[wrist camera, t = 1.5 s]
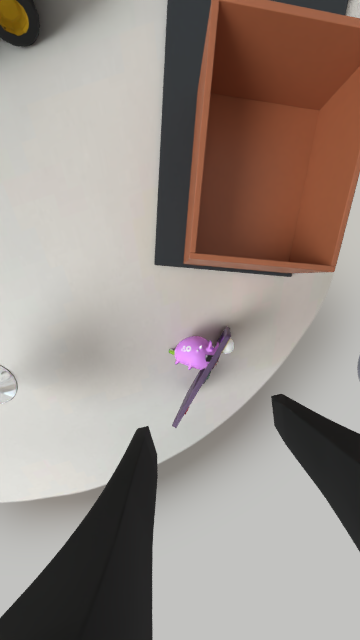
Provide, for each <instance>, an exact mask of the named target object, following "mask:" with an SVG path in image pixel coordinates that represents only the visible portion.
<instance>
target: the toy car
mask: <svg viewBox="0 0 360 640" xmlns="http://www.w3.org/2000/svg"><path fill="white" fill-rule="evenodd" d="M39 28H40V23H39V16H38V13H37V10H36V8H35V5H34V2H33V0H0V38H2V39H3V40H4V41H6V42H8V43H10V44H12V45H15V46H27V45H31V44H32V43H34V42H35V40H36V38H37V36H38V35H39Z"/></svg>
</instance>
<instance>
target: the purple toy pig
mask: <svg viewBox="0 0 360 640" xmlns="http://www.w3.org/2000/svg"><path fill="white" fill-rule="evenodd" d="M230 337H231V333H230V328H229V327H227V326H226V328H225V329H224V331H223V333H222V334H221V336H220V338H219V339H218V341H217V343H216V345H215V346H214V348H213V347H212V342H211V341H210V343H209V342H208V341H207V340H206V339H205V338H203V337H200V336H192V337H188V338H185V339H184V340H182V341H181V342H180V343H179V344H178V345H177V347H176V349H175V350H173V349H169V353H171V354H173V355H175V358H176V362H175V364H178V363H182V364H184V365H188V366H189V368H188V370H190V369H191V368H192V367H193V368H196V369H201V370H200V372H199V373H198V375H197V377H196V378H195V380H194V382H193V384H192V385H191V387H190V389H189V390H188V392H187V394H186V396H185V399H184V401H183V403H182V405H181V407H180V409H179V412H178V414H177V416H176V418H175V420H174V422H173V425H172V426H174V427H175V428H176V427H177V426H178V424H179V422H180V421H181V419H182V417H183V416H184V414H186V412H187V411H188V408H189V406H190V404H191V402H192V401H193V399H194V397H195V396H196V394H197V392H198V391H199V389H200V387H201V386H202V384H204V383H205V381H206V380H207V379H208V378H209V376H210V372H211V370H212V369H213V368H214V366H216V365H217V363H218V359H219V357H220V354H221V353H224V354H228V353H230V352H232V351H233V349H234V343H233V341H232V340H231V339H230ZM220 343H221V344H220ZM205 368H206V369H205Z"/></svg>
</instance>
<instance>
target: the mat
mask: <svg viewBox="0 0 360 640" xmlns="http://www.w3.org/2000/svg"><path fill="white" fill-rule="evenodd" d="M270 1H275V2H280V3H285V4H290V5H295V6H300V7H305V8H310V9H315V10H320V11H325V12H330V13H335V14H340V15H345V14H346V9H347V4H348V0H270ZM210 6H211V0H168V5H167V25H166V45H165V65H164V85H163V105H162V125H161V145H160V166H159V186H158V206H157V226H156V246H155V265H162V266H173V267H185V268H196V269H208V270H219V271H230V272H242V273H253V274H265V275H276V276H287V277H291V276H292V273H279V272H268V271H257V270H246V269H235V268H223V267H212V266H201V265H190V264H184V250H185V238H186V226H187V214H188V202H189V190H190V177H191V165H192V153H193V141H194V129H195V116H196V104H197V92H198V84H199V78H200V71H201V65H202V58H203V52H204V45H205V39H206V32H207V26H208V19H209V13H210Z"/></svg>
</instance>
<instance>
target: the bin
mask: <svg viewBox="0 0 360 640" xmlns="http://www.w3.org/2000/svg"><path fill="white" fill-rule="evenodd" d="M359 173H360V18H355V17H350V16H345V15H340V14H335V13H330V12H325V11H320V10H315V9H310V8H305V7H300V6H295V5H290V4H285V3H280V2H275V1H270V0H211V6H210V13H209V19H208V26H207V32H206V39H205V45H204V52H203V58H202V65H201V71H200V78H199V84H198V92H197V104H196V116H195V129H194V141H193V153H192V165H191V177H190V190H189V202H188V214H187V226H186V238H185V250H184V264H190V265H201V266H212V267H223V268H235V269H246V270H257V271H268V272H279V273H313V272H334V271H335V266H336V264H337V260H338V256H339V252H340V248H341V244H342V240H343V236H344V232H345V228H346V224H347V220H348V216H349V212H350V208H351V204H352V201H353V197H354V193H355V189H356V185H357V181H358V177H359Z"/></svg>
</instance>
